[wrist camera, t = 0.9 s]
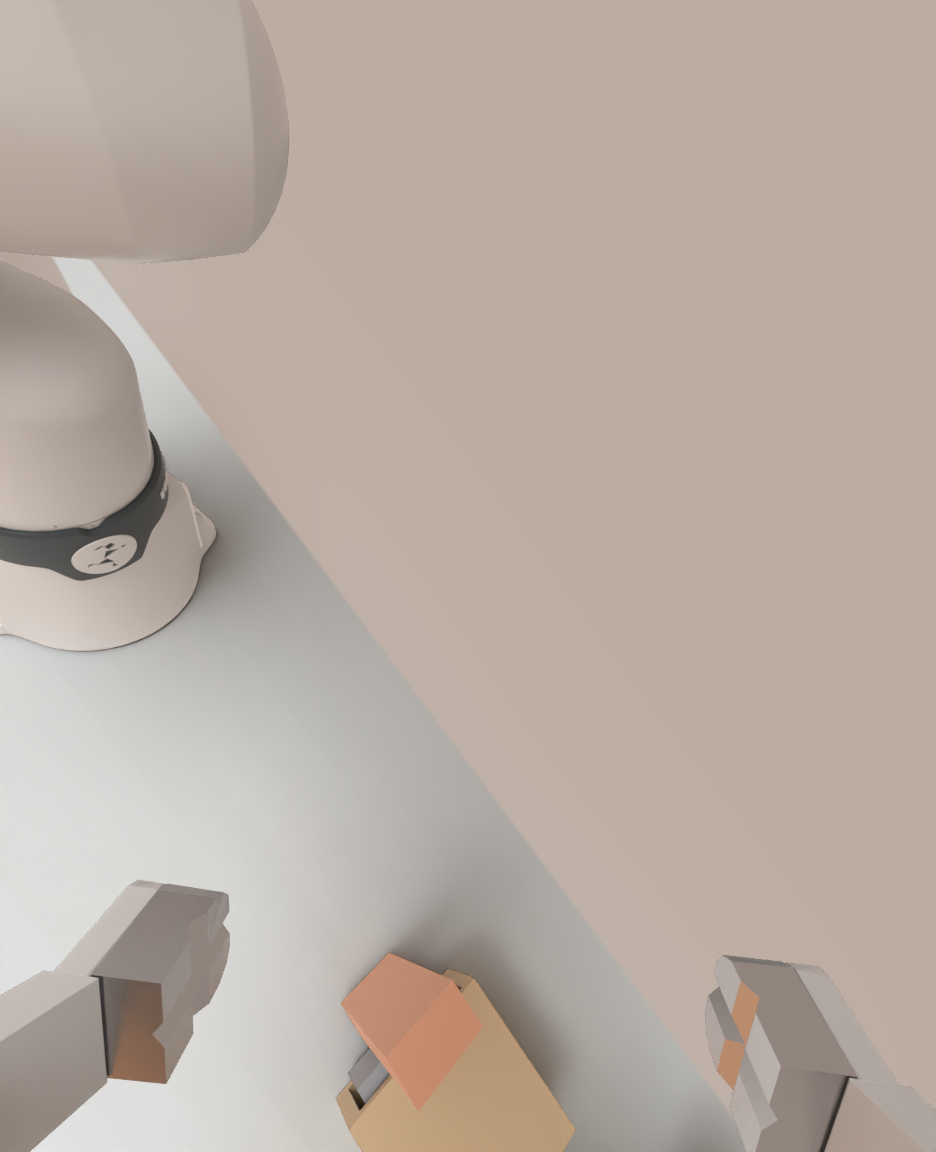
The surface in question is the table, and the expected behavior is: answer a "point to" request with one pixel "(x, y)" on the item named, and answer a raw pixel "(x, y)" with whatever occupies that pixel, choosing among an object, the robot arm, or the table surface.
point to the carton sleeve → (466, 1099)
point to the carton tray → (408, 1028)
